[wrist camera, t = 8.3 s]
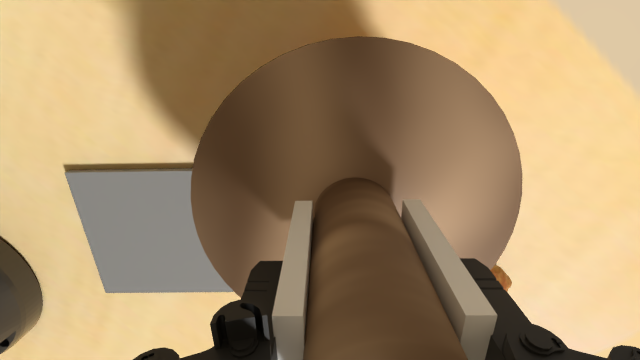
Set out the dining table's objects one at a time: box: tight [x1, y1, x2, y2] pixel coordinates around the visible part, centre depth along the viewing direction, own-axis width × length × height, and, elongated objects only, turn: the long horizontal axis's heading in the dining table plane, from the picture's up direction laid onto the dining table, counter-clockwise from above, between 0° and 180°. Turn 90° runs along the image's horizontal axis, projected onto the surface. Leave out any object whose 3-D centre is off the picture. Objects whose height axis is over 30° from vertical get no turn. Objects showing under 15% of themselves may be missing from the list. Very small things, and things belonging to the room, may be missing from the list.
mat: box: [65, 168, 233, 293], centre depth 27 cm, size 12×12×1 cm
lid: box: [191, 37, 522, 360], centre depth 12 cm, size 16×16×10 cm
